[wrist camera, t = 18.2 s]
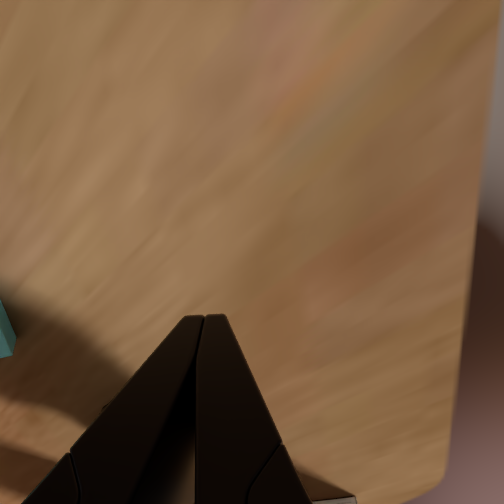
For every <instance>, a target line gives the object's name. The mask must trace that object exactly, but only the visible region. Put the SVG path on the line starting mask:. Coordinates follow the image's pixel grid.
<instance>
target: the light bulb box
mask: <svg viewBox="0 0 504 504" xmlns="http://www.w3.org/2000/svg"><path fill="white" fill-rule="evenodd" d="M313 504H357V499H356V497H355V496H354V497H349V498H341V499H333V500H324V501H315V502H313Z"/></svg>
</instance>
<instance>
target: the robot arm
mask: <svg viewBox="0 0 504 504" xmlns="http://www.w3.org/2000/svg"><path fill="white" fill-rule="evenodd" d="M194 500H195V504H313V502H312V500H311V499H310V497H309V495H308V493H307V491H306V489H305V487H304V485H303V483H302V481H301V479H300V477H299V475H298V473H297V471H296V469H295V467H294V465H293V463H292V461H291V458H290V456H289V454H288V452H287V449H286V447H285V445H283V442H282V439H281V437H280V435H279V432H278V430H277V428H276V426H275V423H274V421H273V419H272V417H271V415H270V412H269V410H268V408H267V406H266V403H265V401H264V399H263V397H262V395H261V392H260V390H259V388H258V386H257V384H256V381H255V379H254V377H253V375H252V372H251V370H250V368H249V366H248V364H247V361H246V359H245V357H244V355H243V352H242V350H241V348H240V346H239V344H238V341H237V339H236V337H235V335H234V333H233V330H232V328H231V326H230V324H229V321H228V319H227V317H226V315H224V314H208V315H206V316H205V317H204V316H203V315H187V316H184V317H183V318H182V319H181V320H180V321H179V323H178V324H177V325H176V326H175V327H174V328H173V330H172V331H171V332H170V333H169V334H168V335H167V336H166V338H165V339H164V340H163V341H162V342H161V343H160V345H159V346H158V347H157V348H156V349H155V350H154V352H153V353H152V354H151V355H150V356H149V357H148V359H147V360H146V361H145V362H144V363H143V364H142V366H141V367H140V368H139V369H138V370H137V371H136V373H135V374H134V375H133V376H132V377H131V378H130V380H129V381H128V382H127V383H126V384H125V385H124V386H123V388H122V389H121V390H120V391H119V392H118V393H117V395H116V396H115V397H114V398H113V399H112V400H111V402H110V403H109V404H108V405H107V406H104V407H103V408H102V411H101V413H100V414H99V416H98V417H97V418H96V419H95V420H94V421H93V423H92V424H91V425H90V426H89V427H88V428H87V430H86V431H85V432H84V433H83V434H82V435H81V436H80V438H79V439H78V440H77V441H76V442H75V443H74V445H73V446H72V447H71V448H70V453H66V454H65V455H64V456H63V457H62V458H61V459H60V461H59V462H58V463H57V464H56V465H55V466H54V468H53V469H52V470H51V471H50V472H49V473H48V474H47V476H46V477H45V478H44V479H43V480H42V481H41V482H40V483H39V484H38V486H37V487H36V488H35V489H34V490H33V491H32V492H31V493H30V495H29V496H28V497H27V498H26V499H25V500H24V501H23V502H22V503H21V504H194Z"/></svg>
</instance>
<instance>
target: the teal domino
mask: <svg viewBox="0 0 504 504" xmlns="http://www.w3.org/2000/svg"><path fill="white" fill-rule="evenodd" d="M16 339H17V338H16V335H15V333H14V331H13V328H12V326H11V323H10V321H9V319H8V316H7V314H6V311H5V309H4V307H3V304H2V302H1V299H0V358H3V357H8V356H12V355H13V351H14V347H15V343H16Z"/></svg>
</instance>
